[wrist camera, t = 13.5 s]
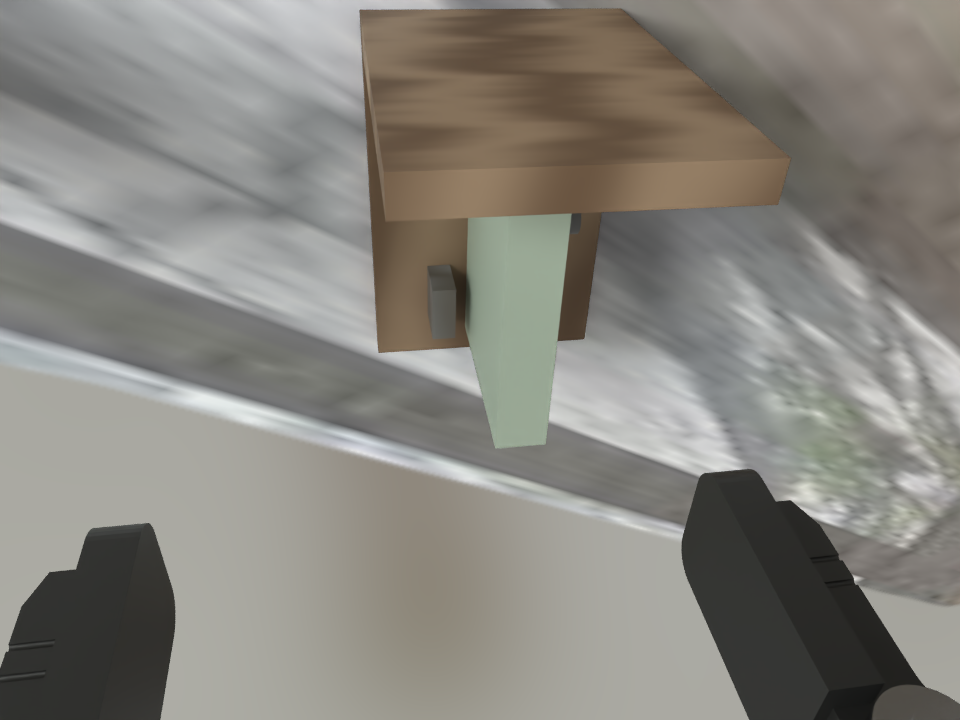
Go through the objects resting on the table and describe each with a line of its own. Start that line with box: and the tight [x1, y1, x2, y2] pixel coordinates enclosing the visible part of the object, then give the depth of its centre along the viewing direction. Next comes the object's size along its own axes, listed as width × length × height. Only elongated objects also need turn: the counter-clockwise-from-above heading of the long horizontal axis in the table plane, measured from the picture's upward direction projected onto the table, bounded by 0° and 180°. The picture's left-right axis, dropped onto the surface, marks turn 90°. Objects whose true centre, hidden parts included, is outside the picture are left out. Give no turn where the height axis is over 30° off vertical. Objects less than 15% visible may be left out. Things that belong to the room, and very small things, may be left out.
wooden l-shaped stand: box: [360, 9, 791, 353], centre depth 35 cm, size 12×18×17 cm, turn 179°
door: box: [465, 213, 581, 449], centre depth 38 cm, size 3×12×10 cm, turn 179°
